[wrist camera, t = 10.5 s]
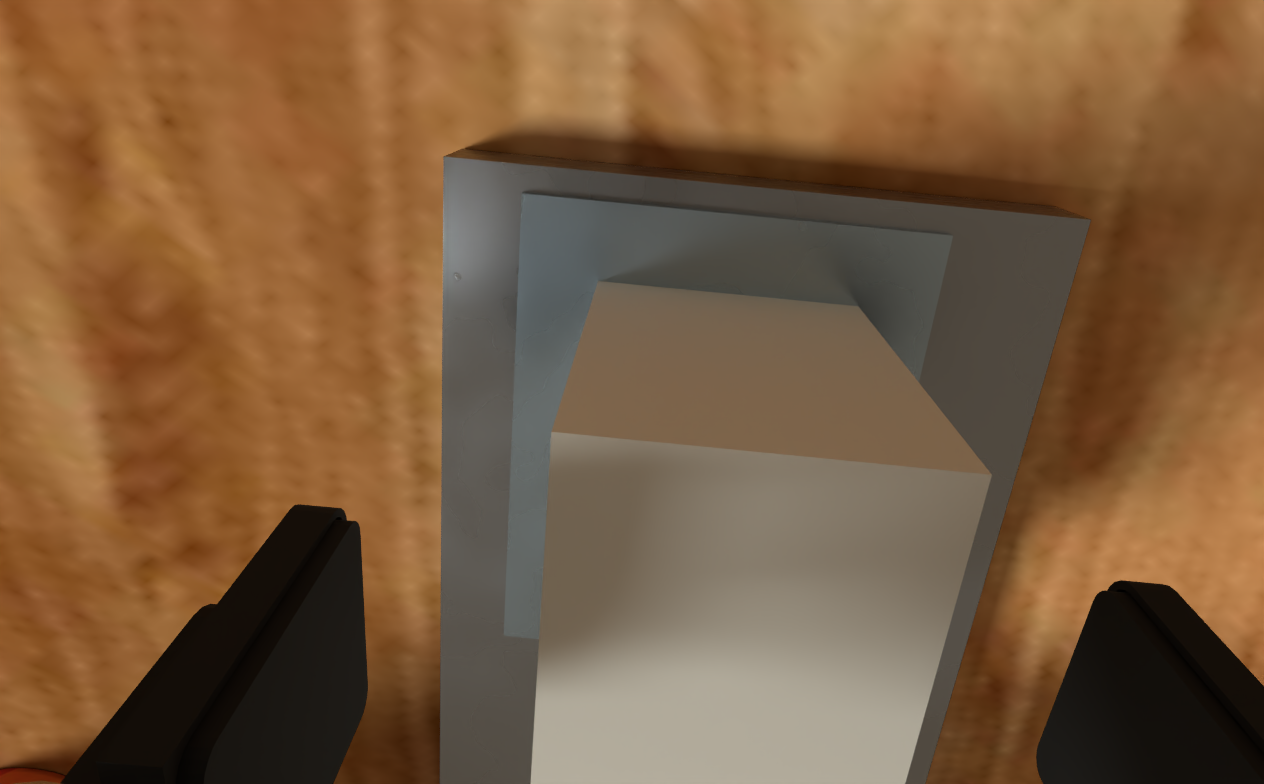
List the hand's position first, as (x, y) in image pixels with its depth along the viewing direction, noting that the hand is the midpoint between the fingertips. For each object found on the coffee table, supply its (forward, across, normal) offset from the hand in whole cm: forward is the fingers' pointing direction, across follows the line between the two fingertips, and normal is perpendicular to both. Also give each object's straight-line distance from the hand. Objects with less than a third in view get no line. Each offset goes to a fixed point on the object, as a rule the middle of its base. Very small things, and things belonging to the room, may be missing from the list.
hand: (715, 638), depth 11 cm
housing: (+7, 0, +1) cm, 7 cm away
